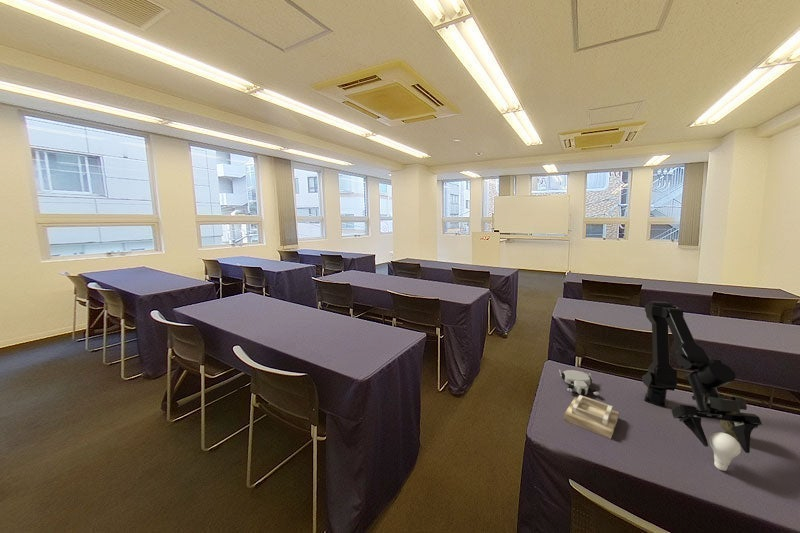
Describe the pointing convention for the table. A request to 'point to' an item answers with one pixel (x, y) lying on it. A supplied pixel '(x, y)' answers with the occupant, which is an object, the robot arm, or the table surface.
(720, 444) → the lightbulb
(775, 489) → the table surface
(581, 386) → the robot toy
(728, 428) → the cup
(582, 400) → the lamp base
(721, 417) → the robot arm
